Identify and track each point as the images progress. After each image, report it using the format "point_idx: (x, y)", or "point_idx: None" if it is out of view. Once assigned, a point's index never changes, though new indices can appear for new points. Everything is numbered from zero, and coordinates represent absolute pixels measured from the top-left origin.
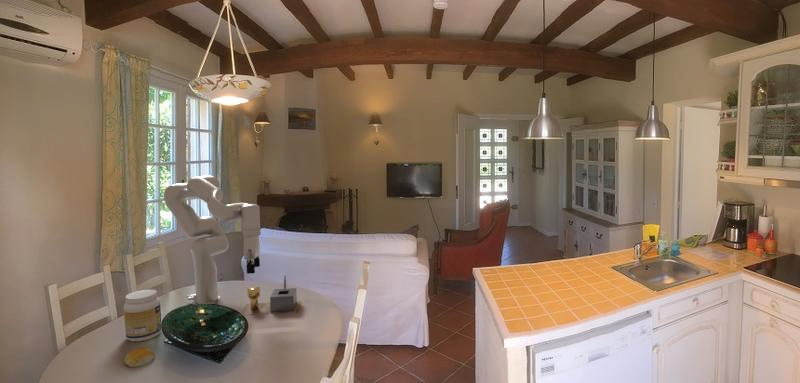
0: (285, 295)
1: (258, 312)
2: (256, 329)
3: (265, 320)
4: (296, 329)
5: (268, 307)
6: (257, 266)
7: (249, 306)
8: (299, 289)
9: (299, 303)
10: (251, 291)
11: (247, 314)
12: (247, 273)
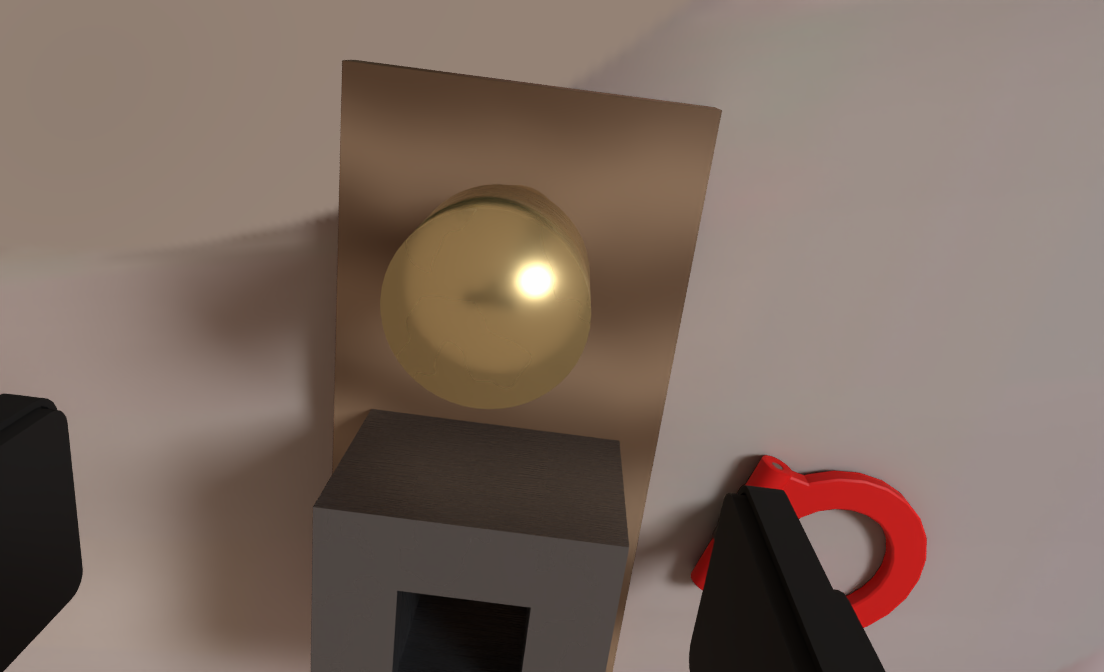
0: (344, 669)
1: None
2: (63, 279)
3: (269, 349)
4: None
5: None
6: (701, 621)
7: (611, 160)
8: (1062, 649)
9: None
10: (384, 282)
11: (355, 164)
12: (13, 401)
